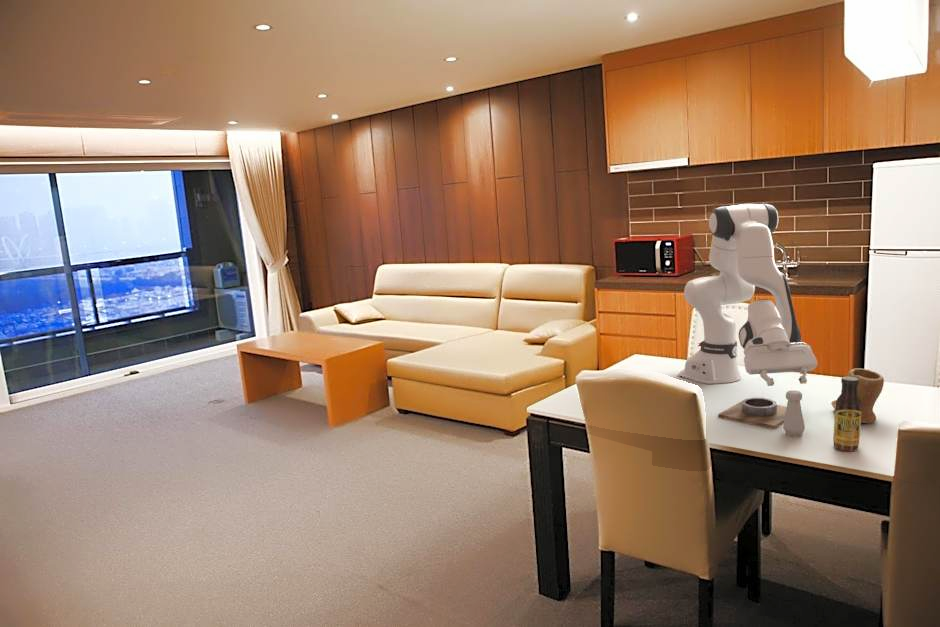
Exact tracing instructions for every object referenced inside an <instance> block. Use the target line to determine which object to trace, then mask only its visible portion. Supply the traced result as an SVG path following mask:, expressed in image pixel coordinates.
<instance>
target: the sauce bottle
mask: <svg viewBox="0 0 940 627" xmlns="http://www.w3.org/2000/svg"><path fill="white" fill-rule="evenodd" d="M840 381H841V391H840V392H841V393H840V394H839V395H838V397H837V399H836V410H835V409H834V419H833V420H834V421H833V435H832V436H833V437H832V438H833V440H832V441H833V447H834V448H835V449H837V450H839V451H842V452H855V451H857V450H858V449H859V445H860V436H861V426H862V423H861V401H860V399H859V397H858V395H857V394H858V392H857V389H858V384H859V379H858V378H855V377H849V376H843V377H841V380H840Z"/></svg>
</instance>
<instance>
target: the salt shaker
mask: <svg viewBox="0 0 940 627" xmlns="http://www.w3.org/2000/svg"><path fill="white" fill-rule="evenodd" d="M785 399H786V400H787V402H786V403H787V404H786V407H787V408H786V413H785V418H784V423H783V424H782V428H783V430H784V432H785V435H786V436H789V437H792V438H793V437H794V438H795V437H796V438H798V437H801V436H802V435H803V434H804V431H805V428H806V426H805V421H804V416H803V412H802V411H803V410H802V406H801V401H802V400H803V393H802V392H801V391H800V390H788V391H786V393H785Z"/></svg>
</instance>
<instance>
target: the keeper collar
mask: <svg viewBox="0 0 940 627" xmlns="http://www.w3.org/2000/svg"><path fill="white" fill-rule="evenodd" d="M777 405H778V404H777V401H775V400H773V399H770V398H764V397H750V398H744V399H743V400H742V413H744V414H746V415H748V416H753V417H770V416H774V415H775V414H777Z"/></svg>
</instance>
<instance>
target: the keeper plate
mask: <svg viewBox="0 0 940 627" xmlns="http://www.w3.org/2000/svg"><path fill="white" fill-rule="evenodd" d="M742 401H743V400H742ZM742 401H740V402H738V403H736V404H734V405H732V406H731V407H729V408H727V409H725V410H723V411H721V412H720V413H718V418H720V417H721V418H720V419H725V418H726V419H725V420H731V421H736V422H741V423H745V424H750V425H755V426H758V427H764V428H768V429H769V428H770V429H773V430H775V429H777V428H778V427H780V426H783V423H784V418H785V413H786V408H787V406H786V405H785V406H784V405H779V404H777V414H775V415H774V416H770V417H753V416H748V415H746V414H744V413H742Z"/></svg>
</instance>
